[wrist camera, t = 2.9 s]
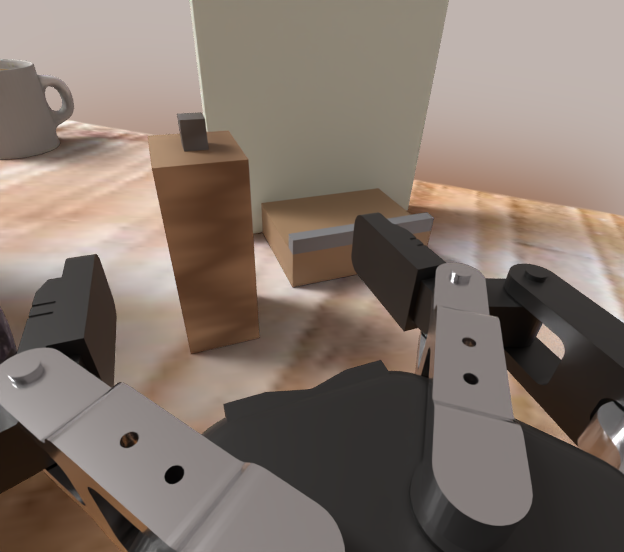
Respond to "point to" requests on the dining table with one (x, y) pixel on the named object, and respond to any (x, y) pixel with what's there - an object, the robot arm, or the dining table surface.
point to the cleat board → (321, 115)
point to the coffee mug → (29, 110)
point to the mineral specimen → (6, 340)
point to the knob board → (208, 231)
